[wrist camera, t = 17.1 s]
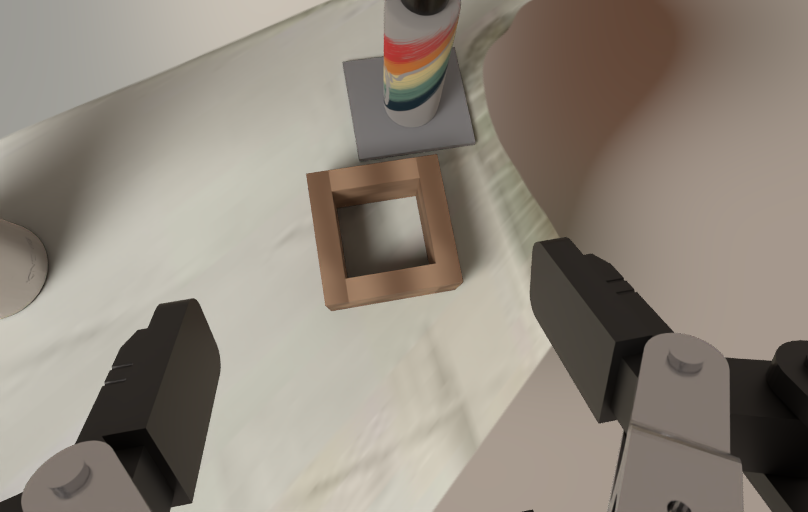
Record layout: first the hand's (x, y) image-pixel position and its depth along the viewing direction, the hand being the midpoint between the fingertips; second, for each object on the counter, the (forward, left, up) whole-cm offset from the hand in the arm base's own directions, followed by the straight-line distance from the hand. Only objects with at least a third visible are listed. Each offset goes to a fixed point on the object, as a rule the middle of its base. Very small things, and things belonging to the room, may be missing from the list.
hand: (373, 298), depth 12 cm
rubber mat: (+7, +24, -35) cm, 43 cm away
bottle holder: (+2, +10, -35) cm, 36 cm away
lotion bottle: (+7, +23, -34) cm, 42 cm away
